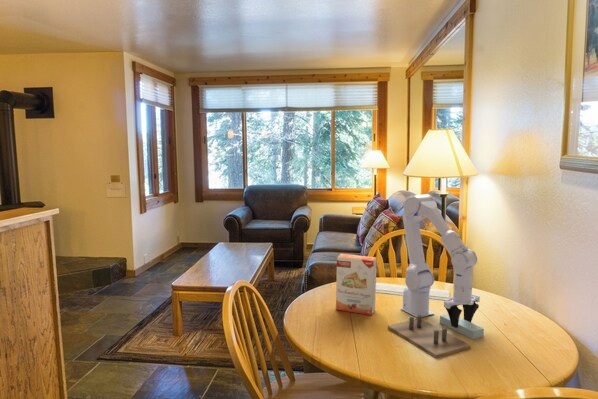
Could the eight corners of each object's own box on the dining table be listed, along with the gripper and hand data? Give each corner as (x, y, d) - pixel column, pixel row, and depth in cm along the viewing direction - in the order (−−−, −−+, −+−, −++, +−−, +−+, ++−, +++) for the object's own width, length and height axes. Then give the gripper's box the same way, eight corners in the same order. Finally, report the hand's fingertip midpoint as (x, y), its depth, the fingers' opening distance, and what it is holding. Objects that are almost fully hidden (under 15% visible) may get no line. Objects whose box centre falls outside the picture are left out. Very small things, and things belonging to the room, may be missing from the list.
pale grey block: (439, 323, 140) (440, 315, 140) (450, 321, 143) (450, 313, 142) (472, 340, 128) (473, 331, 128) (483, 337, 130) (483, 328, 130)
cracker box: (335, 310, 151) (336, 256, 149) (339, 305, 157) (340, 252, 154) (372, 316, 146) (373, 260, 143) (375, 310, 151) (376, 256, 149)
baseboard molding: (449, 303, 160) (449, 293, 171) (449, 296, 160) (449, 287, 171) (371, 294, 170) (376, 285, 181) (372, 287, 170) (376, 279, 181)
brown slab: (387, 328, 136) (388, 314, 135) (419, 321, 142) (420, 307, 141) (436, 358, 116) (436, 341, 115) (470, 348, 122) (471, 332, 121)
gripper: (456, 293, 127) (454, 334, 128) (488, 286, 133) (485, 325, 135) (439, 286, 133) (438, 325, 135) (470, 280, 139) (468, 317, 141)
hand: (460, 325), depth 135 cm, fingers open, 5 cm apart
